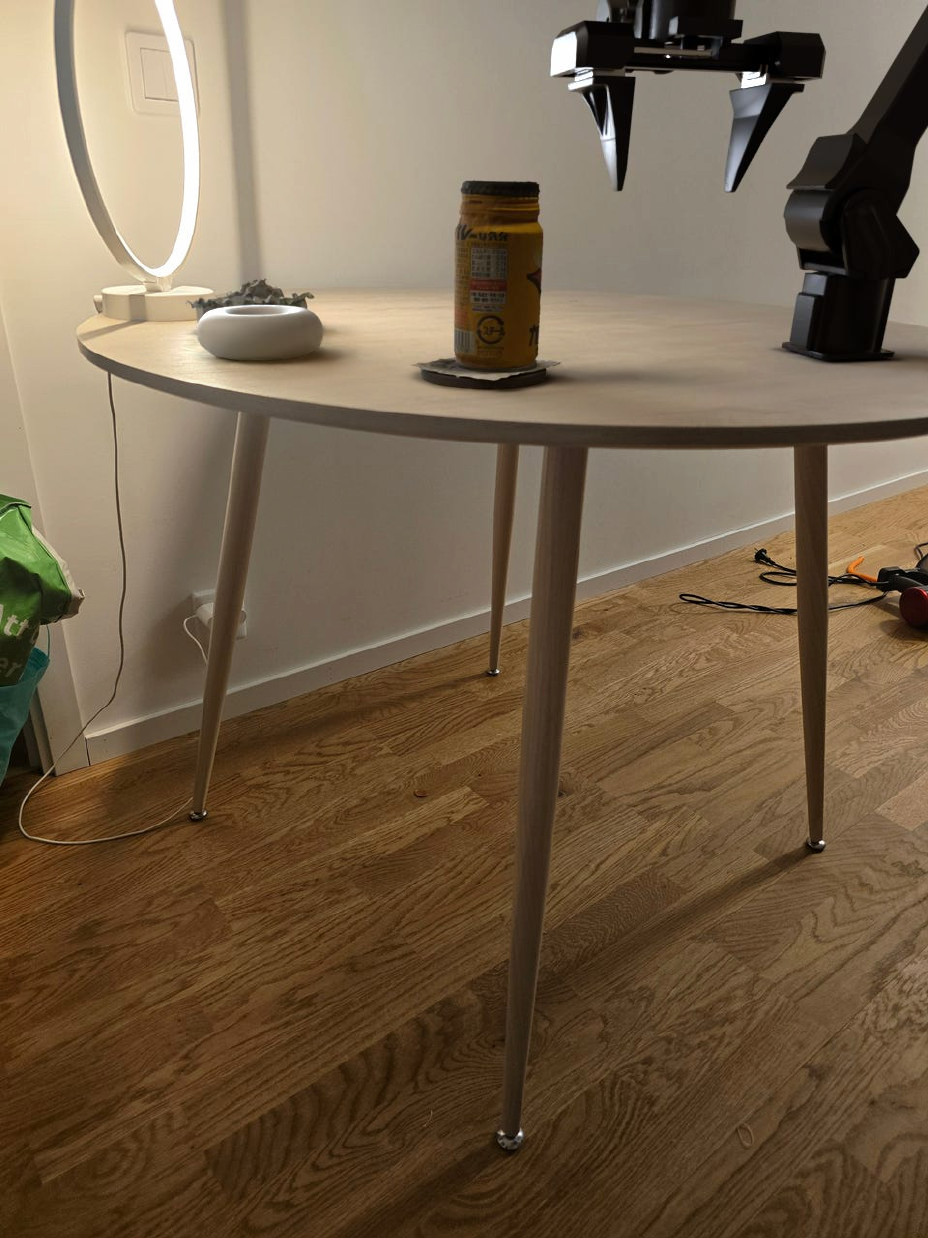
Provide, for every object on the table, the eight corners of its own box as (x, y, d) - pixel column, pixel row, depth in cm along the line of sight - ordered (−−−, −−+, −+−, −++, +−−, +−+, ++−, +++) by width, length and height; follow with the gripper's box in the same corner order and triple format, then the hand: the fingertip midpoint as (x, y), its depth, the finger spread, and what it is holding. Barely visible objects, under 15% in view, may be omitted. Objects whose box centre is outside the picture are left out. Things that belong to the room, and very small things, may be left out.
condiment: (561, 365, 64) (572, 180, 59) (493, 383, 58) (498, 179, 53) (481, 354, 68) (484, 180, 63) (409, 369, 62) (405, 179, 57)
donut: (241, 342, 77) (172, 358, 69) (238, 300, 76) (167, 311, 67) (345, 349, 74) (287, 366, 66) (343, 306, 73) (283, 318, 64)
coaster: (524, 362, 68) (524, 354, 68) (564, 385, 61) (564, 376, 60) (410, 366, 66) (410, 358, 66) (435, 391, 59) (435, 381, 58)
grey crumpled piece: (270, 320, 90) (266, 277, 88) (323, 326, 86) (321, 281, 84) (183, 331, 82) (177, 284, 80) (238, 339, 78) (233, 289, 76)
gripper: (760, -32, 68) (731, 192, 75) (531, -48, 64) (523, 190, 71) (850, -68, 59) (808, 193, 66) (587, -90, 55) (571, 190, 61)
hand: (674, 191), depth 66 cm, fingers open, 9 cm apart
